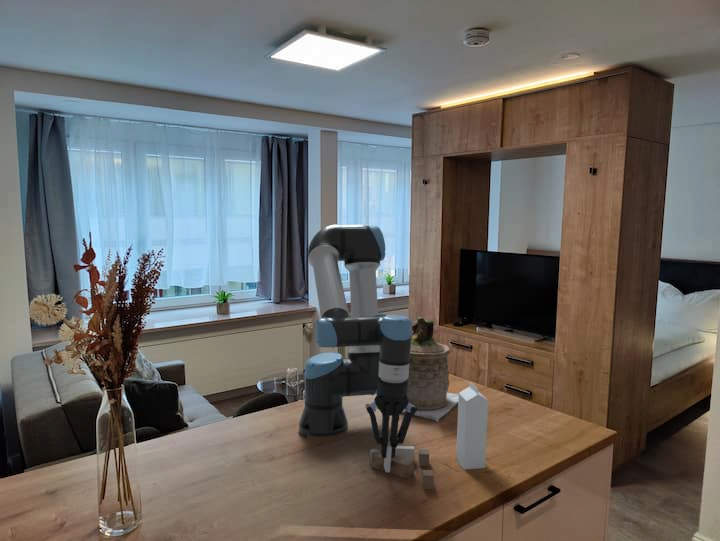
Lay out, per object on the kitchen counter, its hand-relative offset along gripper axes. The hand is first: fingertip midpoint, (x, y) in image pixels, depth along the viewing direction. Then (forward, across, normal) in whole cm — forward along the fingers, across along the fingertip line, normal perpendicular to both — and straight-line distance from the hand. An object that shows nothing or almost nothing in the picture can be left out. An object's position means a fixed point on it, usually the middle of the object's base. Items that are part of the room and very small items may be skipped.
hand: (386, 469), depth 122 cm
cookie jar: (+2, +22, +48) cm, 53 cm away
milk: (+2, +24, +6) cm, 25 cm away
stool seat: (+3, +3, +1) cm, 4 cm away
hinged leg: (+2, +2, +3) cm, 3 cm away
